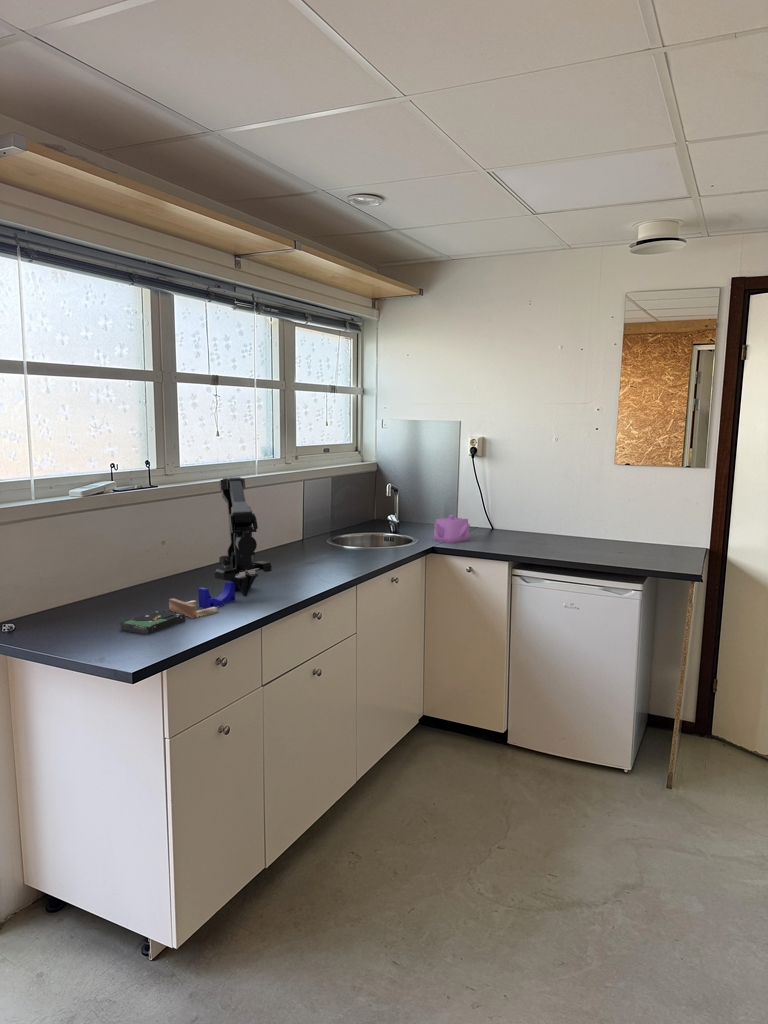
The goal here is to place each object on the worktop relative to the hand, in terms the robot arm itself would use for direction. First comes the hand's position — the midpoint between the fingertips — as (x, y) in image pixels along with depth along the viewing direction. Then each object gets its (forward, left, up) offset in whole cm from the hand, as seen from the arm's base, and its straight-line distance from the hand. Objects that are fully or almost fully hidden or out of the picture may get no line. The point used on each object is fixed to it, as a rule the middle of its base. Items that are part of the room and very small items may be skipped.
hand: (245, 596), depth 226 cm
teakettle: (-133, -19, -1) cm, 135 cm away
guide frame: (+18, 0, -1) cm, 18 cm away
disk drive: (+34, +4, -2) cm, 35 cm away
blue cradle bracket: (+9, -2, -1) cm, 9 cm away
